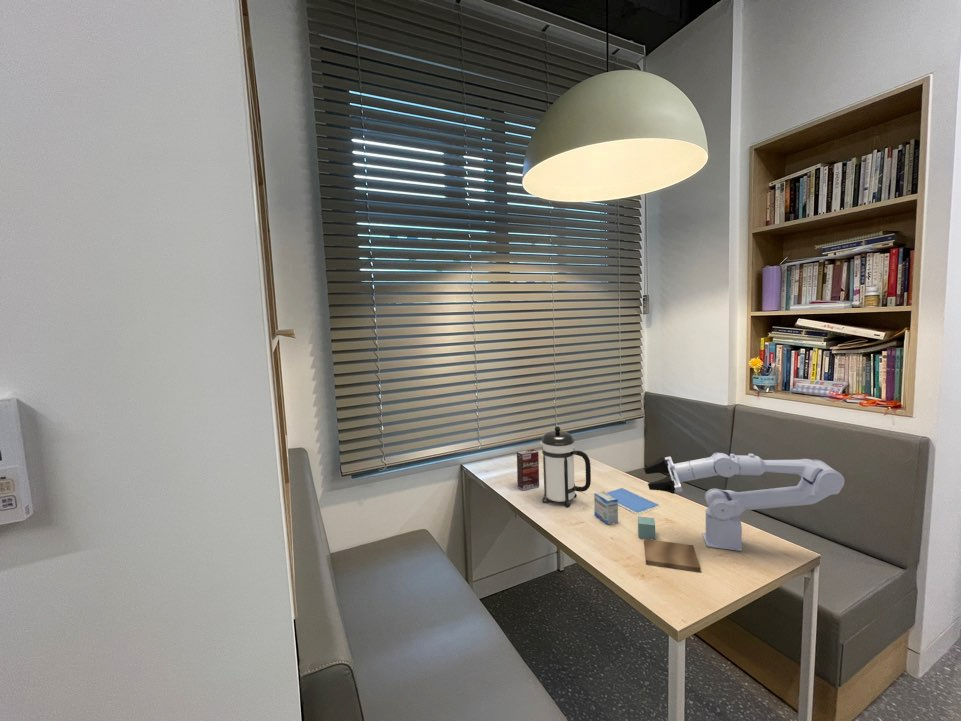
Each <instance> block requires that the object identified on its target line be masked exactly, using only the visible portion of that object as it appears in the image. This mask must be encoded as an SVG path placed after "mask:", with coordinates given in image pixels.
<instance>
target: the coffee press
mask: <svg viewBox="0 0 961 721" xmlns="http://www.w3.org/2000/svg"><path fill="white" fill-rule="evenodd" d="M574 443H575V438H574V437H573V435H572V434H571V433H569V432H567V431H563V430H561V427H560V426H555V427H554V431H553V430H552V431H549V432H546V433H544V434H543V436H542V438H541V441H539V443H538V445H540V446H541V445H542V448H541V449H542V450H541V451H542V452H541V453H542V462H543V463H542V466H543V493H544V494H543V497H542V499H541V501H542V503H543V504H547V502H548V501H549V500H550V501H553V502H558V503H559V502H560V503H561V502H563V503H564V506H565V508H569V507H571V504H570V501H571V500H572V499H575V498H577V497H578V495H577V493H576V492H578V493H579V492H586V491H588V490H589V488H590V486H591V482H592V476H591V475H592V473H591V472H592V471H591V469H592V468H591V461H590V457H589V456H588V455H587V453H585V452H584V451H583V450H575V446H574ZM575 456H579V457H581V458H582V460H584V465H585V485H583V486H578V485H576V484H575Z"/></svg>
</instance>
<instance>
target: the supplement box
mask: <svg viewBox="0 0 961 721" xmlns="http://www.w3.org/2000/svg"><path fill="white" fill-rule="evenodd" d="M539 458H540V457H539V451H538V450H535V449H527V450H523V451H517V452H516V469H517V470H516V474H517V475H516V476H517V478H516V479H517V488H518V489H520V490H521V491H522V492H523V491H527V490H532V489H536V488H540V468H539V466H540V461H539Z"/></svg>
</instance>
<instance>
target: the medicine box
mask: <svg viewBox="0 0 961 721" xmlns="http://www.w3.org/2000/svg"><path fill="white" fill-rule="evenodd" d="M593 497H594V498H593V499H594V502H593V503H594V504H593V505H594V507H593V508H594V512H593V513H594V514H593V515H594V516H595V517H596V518H597V517H598V518H597V519H599V520H600V519H601V520H600V521H602V522H603V523H605V524H606V523H607V525H614V524H618V523H619V505H618V499H616V498H614V497H613V496H611V495H609V494H608V493H607V492H605V490H602V491H598V492H594V496H593ZM613 523H614V524H613Z"/></svg>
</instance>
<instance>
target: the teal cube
mask: <svg viewBox="0 0 961 721" xmlns="http://www.w3.org/2000/svg"><path fill="white" fill-rule="evenodd" d="M637 533H638V535H637V536H638V539H643V538H644V539H649V540H651V539H652V540H656V522H655V517H647V516H639V515H638V516H637ZM644 539H643V540H644Z"/></svg>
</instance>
